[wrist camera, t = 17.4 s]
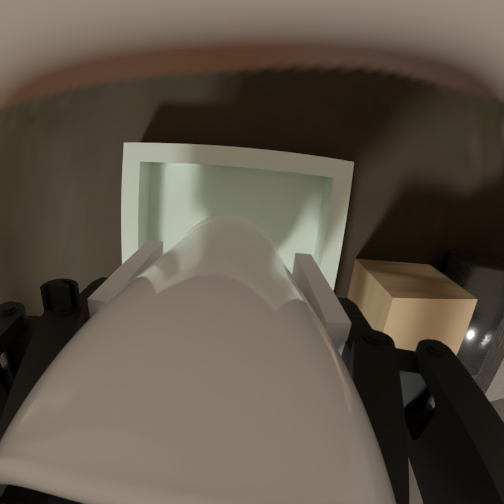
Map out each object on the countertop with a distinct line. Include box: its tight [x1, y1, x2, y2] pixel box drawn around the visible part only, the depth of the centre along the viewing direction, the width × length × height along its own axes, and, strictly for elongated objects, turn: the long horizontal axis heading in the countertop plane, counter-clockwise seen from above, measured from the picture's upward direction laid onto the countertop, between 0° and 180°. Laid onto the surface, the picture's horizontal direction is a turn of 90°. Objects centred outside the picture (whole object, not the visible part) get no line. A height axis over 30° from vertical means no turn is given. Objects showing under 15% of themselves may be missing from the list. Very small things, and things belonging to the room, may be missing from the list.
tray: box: [121, 143, 354, 291], centre depth 18 cm, size 12×12×2 cm
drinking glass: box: [0, 214, 397, 504], centre depth 10 cm, size 7×7×15 cm
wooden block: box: [347, 259, 478, 355], centre depth 17 cm, size 6×4×6 cm, turn 85°
